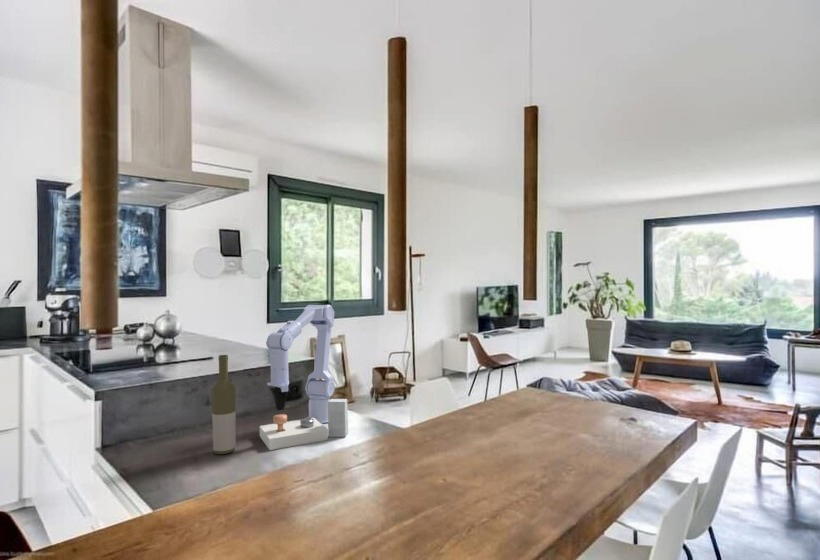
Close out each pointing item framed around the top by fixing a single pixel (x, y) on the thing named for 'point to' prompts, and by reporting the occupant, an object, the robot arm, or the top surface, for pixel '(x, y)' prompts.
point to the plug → (306, 422)
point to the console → (292, 434)
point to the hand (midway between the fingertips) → (280, 409)
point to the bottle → (223, 410)
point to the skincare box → (337, 418)
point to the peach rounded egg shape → (280, 421)
